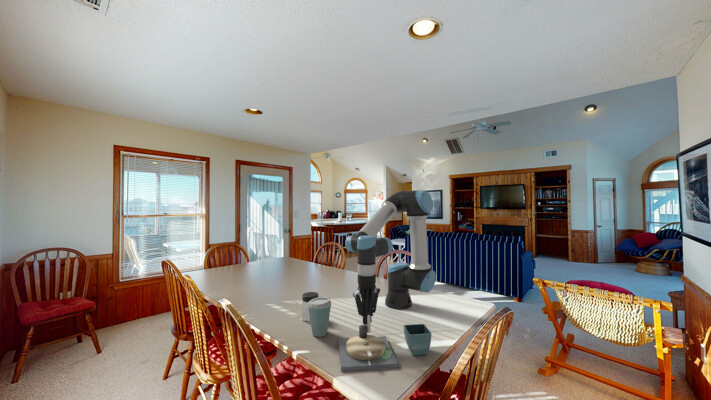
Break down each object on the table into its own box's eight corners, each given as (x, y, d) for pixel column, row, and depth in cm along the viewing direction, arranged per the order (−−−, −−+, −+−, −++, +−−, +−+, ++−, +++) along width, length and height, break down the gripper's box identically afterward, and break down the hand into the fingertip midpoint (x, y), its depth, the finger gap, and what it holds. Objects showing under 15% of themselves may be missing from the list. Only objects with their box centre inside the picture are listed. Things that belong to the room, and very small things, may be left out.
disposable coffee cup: (311, 341, 115) (310, 305, 115) (305, 330, 125) (304, 297, 125) (334, 336, 119) (334, 301, 120) (327, 326, 129) (327, 294, 130)
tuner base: (385, 339, 116) (385, 335, 116) (398, 367, 96) (398, 362, 96) (338, 342, 114) (338, 338, 114) (341, 371, 94) (341, 366, 94)
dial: (391, 360, 97) (390, 343, 98) (349, 364, 95) (349, 347, 95) (380, 338, 114) (380, 323, 114) (344, 340, 112) (344, 326, 112)
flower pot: (403, 346, 110) (402, 324, 111) (424, 345, 111) (424, 323, 111) (409, 359, 102) (409, 334, 102) (432, 357, 102) (432, 333, 103)
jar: (305, 323, 133) (305, 298, 133) (299, 317, 140) (298, 293, 140) (322, 318, 138) (322, 294, 138) (315, 313, 145) (315, 290, 145)
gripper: (372, 269, 120) (373, 323, 119) (348, 274, 112) (349, 332, 112) (384, 273, 114) (385, 330, 113) (359, 278, 106) (360, 339, 106)
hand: (367, 331), depth 113 cm, fingers closed
